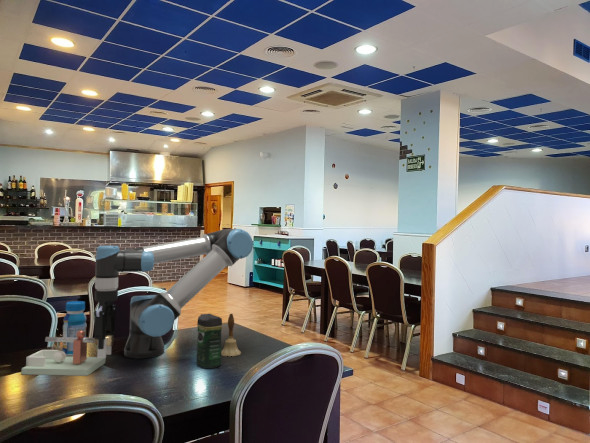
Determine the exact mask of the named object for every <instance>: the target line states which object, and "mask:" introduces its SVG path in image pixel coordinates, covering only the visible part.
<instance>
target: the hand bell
mask: <svg viewBox="0 0 590 443" xmlns="http://www.w3.org/2000/svg"><path fill="white" fill-rule="evenodd" d="M234 326H235V317H234V314H233V313H229V316H228V319H227V327H228V338H227V339H225V341H224V346H223V349H221V357H222V356H223V357H227V356H228V357H231V356H232V357H237V356H240V355H241V354H242V352H241V350H239V348H238V344H237V340H236V339H235V338H234Z"/></svg>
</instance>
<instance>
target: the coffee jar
mask: <svg viewBox="0 0 590 443" xmlns="http://www.w3.org/2000/svg"><path fill="white" fill-rule="evenodd" d="M196 325H197V343H196V345H197V346H196V358H195V360H196V362H195V363H196V364H197V365H198V366H199V367H201V368H204V369H207V368H208V369H215V368H217V367H219V366H221V364H222V355H221V351H222V329H223V318H222V317H221V316H217V315H214V314H213V313H203V314H200V315H199V316H198V317H197V323H196Z"/></svg>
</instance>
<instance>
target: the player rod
mask: <svg viewBox="0 0 590 443" xmlns="http://www.w3.org/2000/svg"><path fill="white" fill-rule="evenodd" d="M76 336H77V337H78V338H72V337H63V336H61V337H60V336H45V339H44V342H46V343H63V342H74V345H73V356H72V357H73V364H80V363H82V362H83V361H85V360H86V359H87V357H88V344H89V343H94V344H95V346H97V347H98V340H96V339H95V337H88V336H86V337H84V336H85V332H84V331H83V330H80V331H78V332H77V334H76ZM114 336H115V335H106V337H105V339H107V342H106V346H111V347H112V346H113V345H114V342H115V337H114Z"/></svg>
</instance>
